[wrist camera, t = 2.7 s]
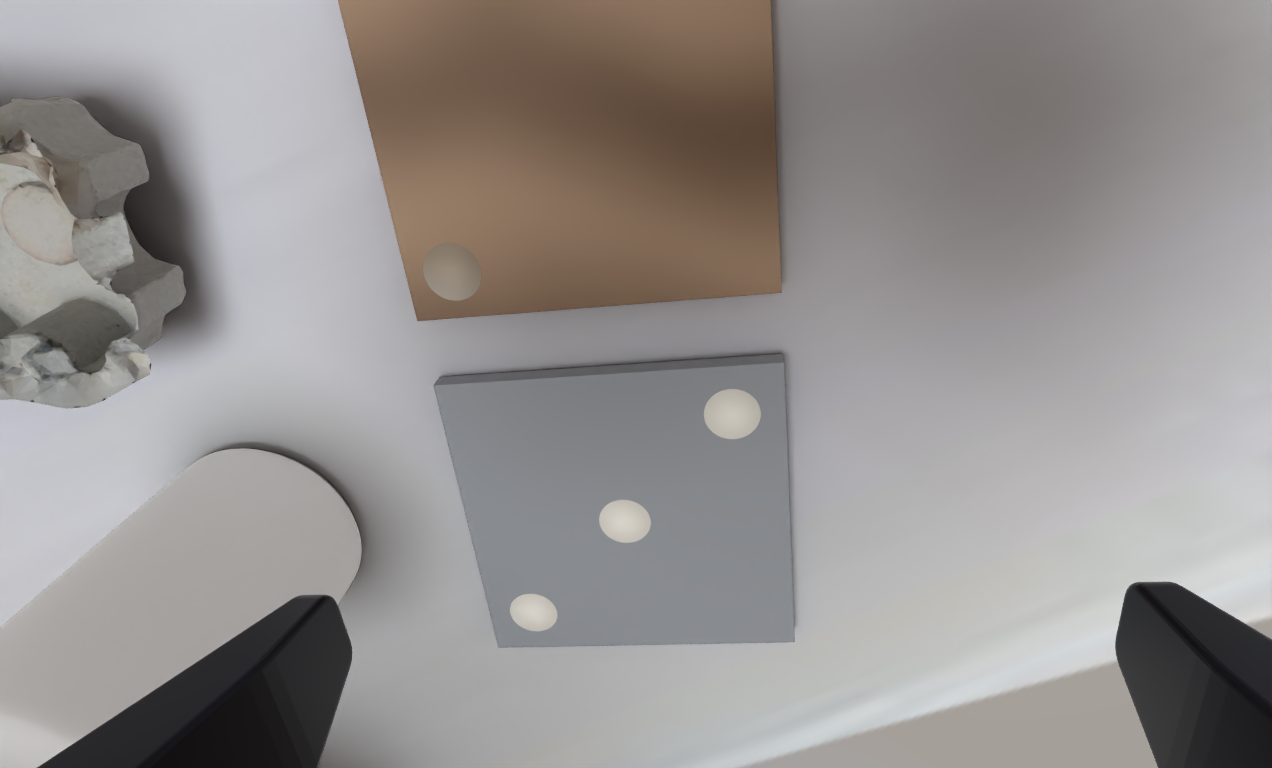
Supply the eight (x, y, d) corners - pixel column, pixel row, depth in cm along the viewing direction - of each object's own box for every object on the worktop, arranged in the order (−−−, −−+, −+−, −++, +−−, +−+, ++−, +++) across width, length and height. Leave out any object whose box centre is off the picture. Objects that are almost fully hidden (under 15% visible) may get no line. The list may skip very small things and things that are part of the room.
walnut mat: (780, 285, 21) (781, 292, 20) (424, 313, 22) (417, 321, 22) (762, -160, 17) (764, -165, 16) (326, -92, 18) (313, -95, 18)
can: (148, 525, 27) (-238, 874, 16) (233, 403, 24) (-154, 718, 13) (307, 629, 28) (53, 1015, 17) (404, 524, 26) (177, 897, 15)
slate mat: (793, 628, 26) (794, 642, 25) (502, 634, 27) (498, 647, 27) (782, 353, 22) (784, 362, 21) (440, 376, 23) (433, 386, 23)
